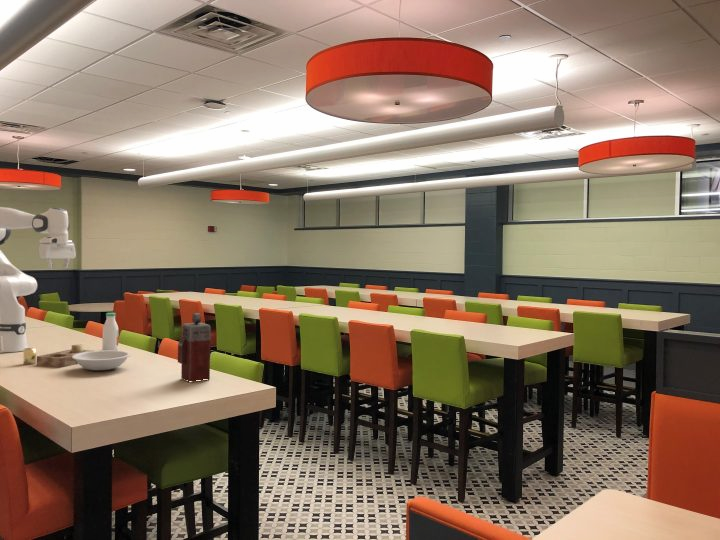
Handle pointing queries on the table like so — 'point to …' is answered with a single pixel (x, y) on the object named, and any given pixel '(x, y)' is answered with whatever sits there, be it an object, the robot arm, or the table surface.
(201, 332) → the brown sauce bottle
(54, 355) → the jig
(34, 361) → the bushing
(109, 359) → the soup bowl
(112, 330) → the milk bottle
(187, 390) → the table surface
